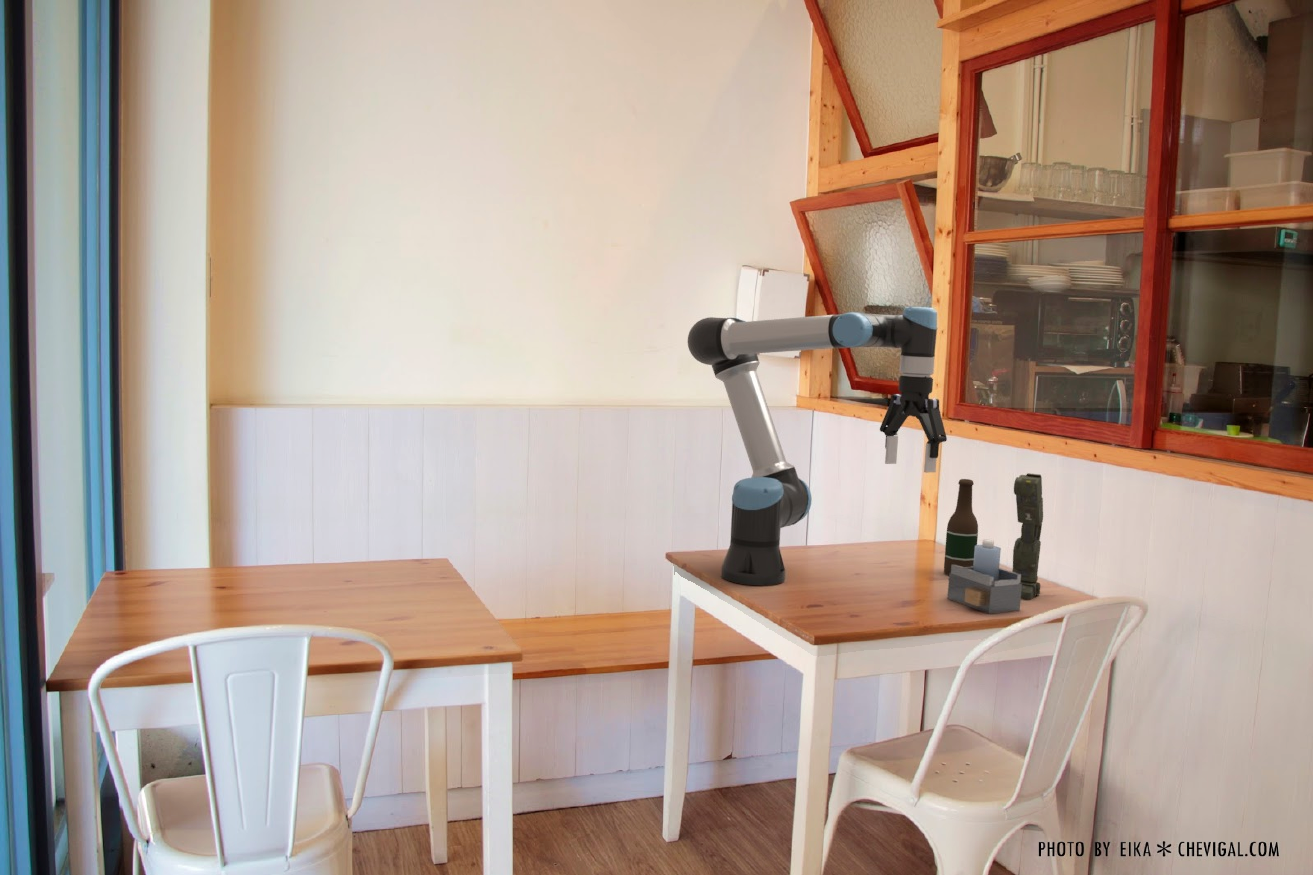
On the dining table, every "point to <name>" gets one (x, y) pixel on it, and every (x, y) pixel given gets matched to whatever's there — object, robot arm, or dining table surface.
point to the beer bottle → (961, 530)
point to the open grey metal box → (985, 589)
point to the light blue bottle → (987, 559)
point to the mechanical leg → (1028, 532)
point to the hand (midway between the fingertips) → (909, 468)
